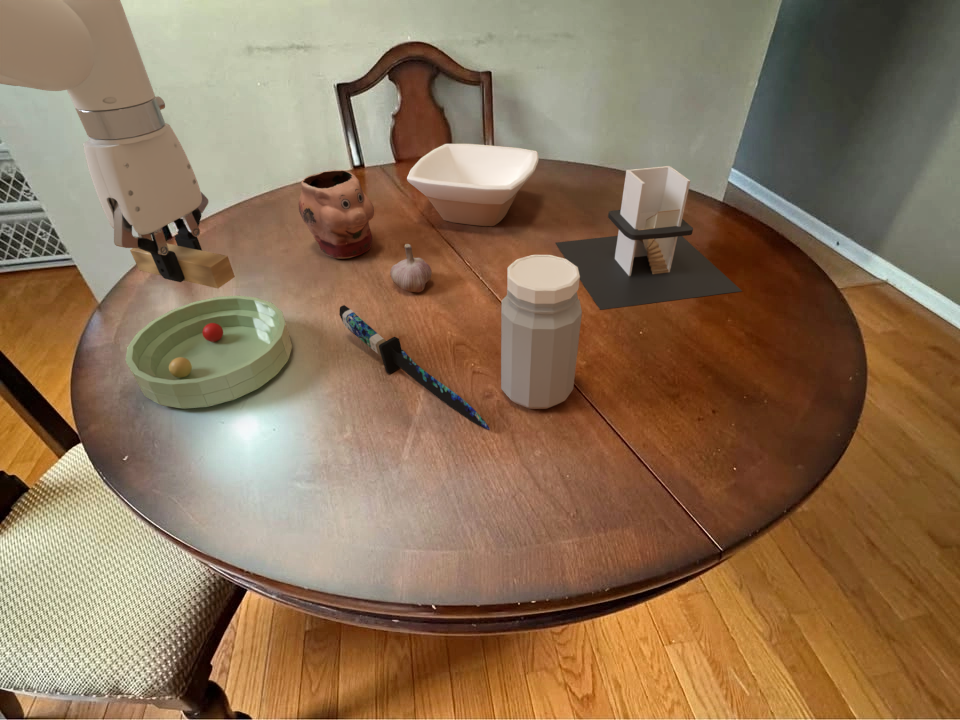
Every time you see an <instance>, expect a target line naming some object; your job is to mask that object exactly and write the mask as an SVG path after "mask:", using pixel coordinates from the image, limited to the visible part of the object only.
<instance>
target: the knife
mask: <svg viewBox="0 0 960 720" xmlns="http://www.w3.org/2000/svg"><path fill="white" fill-rule="evenodd" d="M339 318H340V319H341V322H342V324H343V325H344V327H345V328H346V329H347V330H348V331H350V332H351V333H352V334H353V335H354V336H356V337H357V338H358V339H359V340H360V341H362V342H363V343H364V344H365V345H366V346H368V347H369V348H370V349H371V350H372V351H373V352H375V353H376V354H377V355H378V356H379V357H381V360H382V363H383V366H384V369H385V372H386V373H387V374H390V375H391V374H393V373H395V372H396V371H398V370H400V369H401V370H402V371H403V372H404V373H406V374H407V375H408V376H409V377H411V378H412V379H413V380H414V381H416V382H417V383H418V384H419V385H421V386H422V387H423V388H425V390H427V391H428V392H430V393H431V394H432V395H434V396H435V397H436V398H437V399H440V400H441V401H442V402H443V403H445V404H446V405H447V406H448V407H450V408H452V409H453V410H454V411H456V412H457V413H458V414H460V415H461V416H463V417H464V418H466V419H467V420H468V421H471V423H474V424H475V425H477V426H478V427H480V428H483V430H487V431H490V430H491V428H490V426H489V425H488V423H486V421H485V420H484V418H483V417H482V416H481V415H480V414H479V412H477V411H476V409H474V408H473V406H471V404H469V403H468V402H467V401H466V400H465V399H464V398H462V396H460V395H458V394H457V393H456V392H455V391H453V390H452V389H450V388H449V387H447V385H445V384H444V383H442V382H441V381H439V380H438V379H436V378H435V376H432V375H431V374H429V373H428V372H427V371H426V370H424V369H423V368H422V367H421V366H420V365H418V364H417V363H416V362H415V361H414V359H412V358H411V357H410V356H409V354H408V353H406V351H405V350H404V349H403V348H402V344H401V341H400V338H399V337H397V336H393V337H391V338H389V339H387V340H386V339H385V338H384V337H383V336H382V335H380V334H379V333H378V332H377V331H376V330H375V329H373V328H372V327H371V326H370V325H369V324H368V323H366V322H365V320H363V318H361V317H360V316H359V315H358V314H357V313H355V312H354V311H353V310H352V309H351V308H349V307H348V306H346V305H345V304H343V305H341V306H339Z"/></svg>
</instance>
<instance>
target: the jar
mask: <svg viewBox="0 0 960 720" xmlns="http://www.w3.org/2000/svg"><path fill="white" fill-rule="evenodd" d="M506 271H507V276H506V277H507V278H506V279H507V280H506V281H507V282H506V283H507V287H506V295H505V296H504V298H502V299H501V310H500V311H501V312H500V313H501V315H500V316H501V318H500V319H501V320H500V321H501V323H500V325H501V326H500V327H501V328H500V330H501V331H500V332H501V333H500V336H501V337H500V342H501V343H500V389H501V390H502V392H503V393H504V394H505V395H506V396H507V397H508V398H509V400H510V401H511V402H513V403H514V404H517V405H518V406H521V407H524V408H526V409H528V410H547V409H550V408H552V407H556V406H558V405H559V404H562V403H563V402H565V401H566V400H567V398H569V396H570V394H571V393H572V392H573V390H574V387H575V386H574V385H575V377H576V370H577V369H576V368H577V359H578V351H579V342H580V332H581V324H582V316H583V311H582V305H581V301H580V299H579V295H578V291H579V289H580V275H579V271H578V267H577V266H575V265H574V264H573V263H571V262H570V261H568V260H567V259H566V258H565V257H564V258H563V257H560V256H556V255H552V254H530V255H527V256H524V257H523V256H522V257H520V258H516V259H515V260H514V261H513V262H512V263H510V264H509V265H508V266H507V270H506Z"/></svg>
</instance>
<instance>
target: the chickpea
mask: <svg viewBox="0 0 960 720" xmlns="http://www.w3.org/2000/svg"><path fill="white" fill-rule="evenodd" d="M191 370H192V365H191V362H190V361H189V360H188V359H186V358H183V357H178V358H175V359H173V360H172V361H171V362H170V364H169V371H170V373H171V374H172V375H173V376H175V377H178V378H182V377H186V376H187V375H189V374H190V372H191Z"/></svg>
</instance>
